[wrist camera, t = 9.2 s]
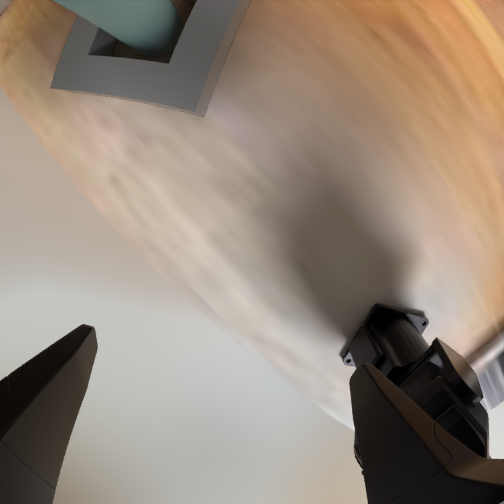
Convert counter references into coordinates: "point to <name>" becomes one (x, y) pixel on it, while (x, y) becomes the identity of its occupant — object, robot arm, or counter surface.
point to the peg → (134, 22)
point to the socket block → (154, 73)
